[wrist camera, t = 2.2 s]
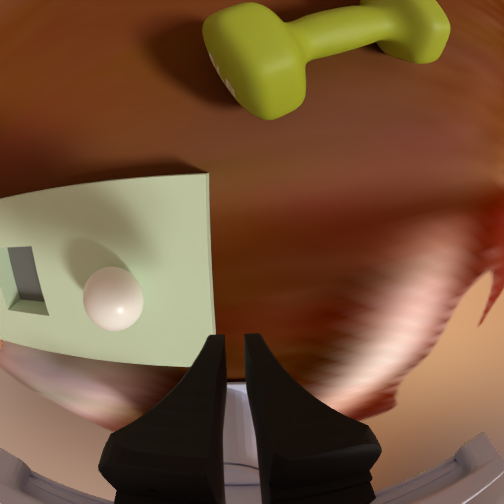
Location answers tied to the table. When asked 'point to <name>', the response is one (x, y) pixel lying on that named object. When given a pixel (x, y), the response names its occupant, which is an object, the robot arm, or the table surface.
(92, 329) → the pale green box
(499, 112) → the table surface
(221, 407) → the robot arm
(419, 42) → the dumbbell
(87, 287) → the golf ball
